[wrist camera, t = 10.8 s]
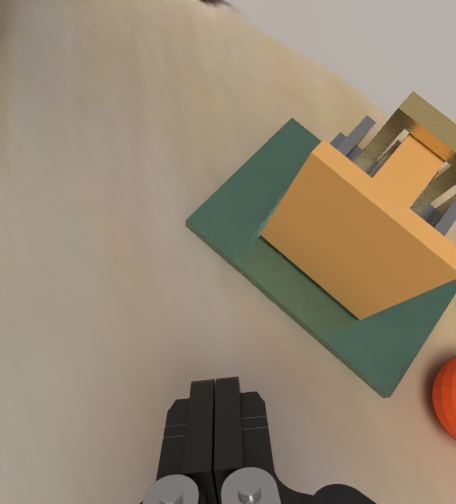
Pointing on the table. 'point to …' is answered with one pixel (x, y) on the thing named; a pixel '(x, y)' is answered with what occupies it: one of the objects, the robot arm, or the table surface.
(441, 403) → the clementine
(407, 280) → the wooden stand
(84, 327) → the table surface
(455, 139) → the heat sink mount
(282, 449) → the table surface
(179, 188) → the table surface
